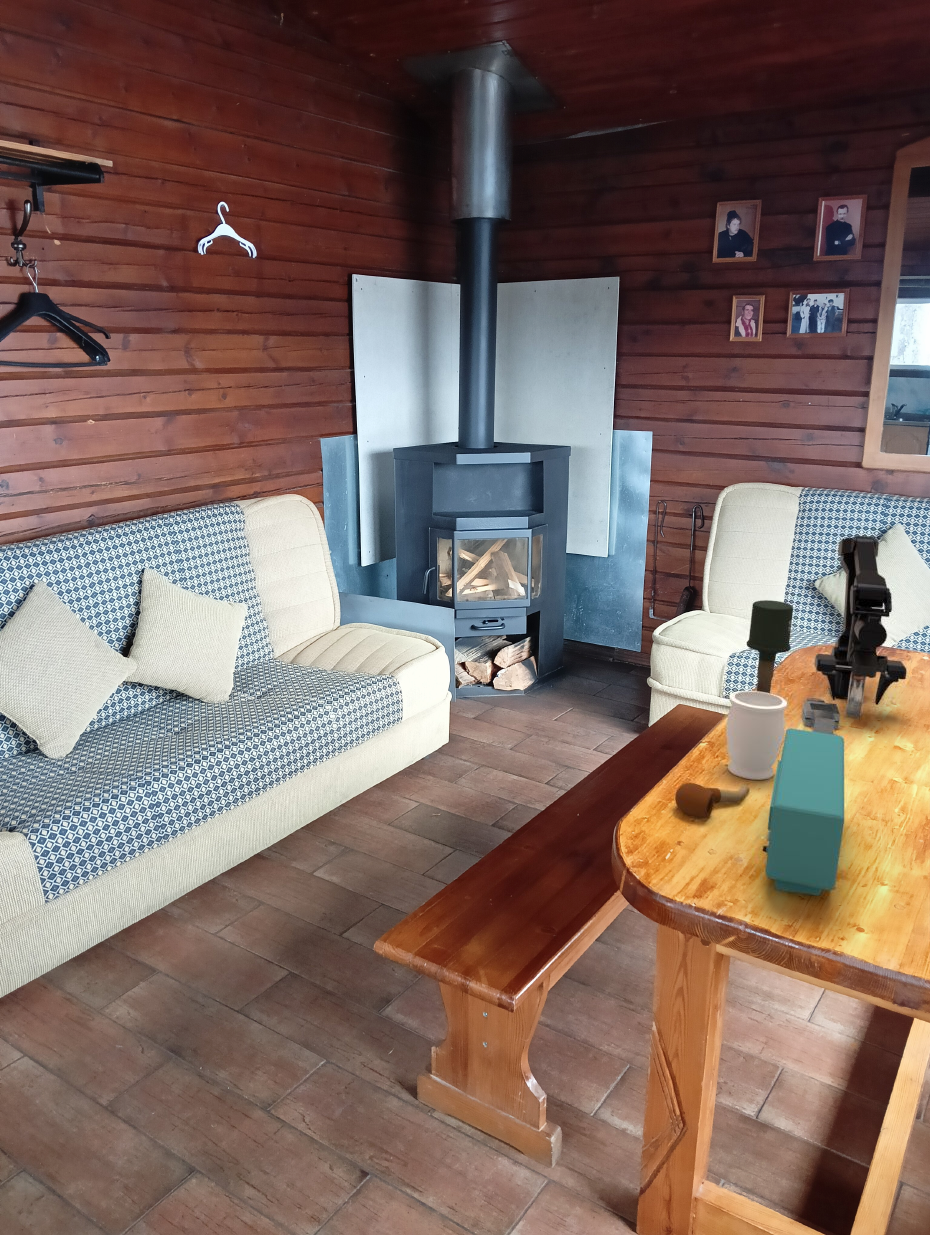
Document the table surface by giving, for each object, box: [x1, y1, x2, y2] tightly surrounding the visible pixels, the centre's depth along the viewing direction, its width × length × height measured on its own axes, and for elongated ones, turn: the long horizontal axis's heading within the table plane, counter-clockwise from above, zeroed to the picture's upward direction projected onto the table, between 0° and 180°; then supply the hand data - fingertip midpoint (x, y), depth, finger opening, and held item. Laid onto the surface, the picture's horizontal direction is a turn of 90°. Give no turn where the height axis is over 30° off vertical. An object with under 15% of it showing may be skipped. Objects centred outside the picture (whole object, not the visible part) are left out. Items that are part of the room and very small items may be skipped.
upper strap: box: [802, 700, 841, 735], centre depth 208 cm, size 11×7×4 cm, turn 165°
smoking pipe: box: [674, 782, 750, 820], centre depth 168 cm, size 7×18×6 cm, turn 134°
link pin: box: [845, 672, 867, 719], centre depth 214 cm, size 3×3×10 cm
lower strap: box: [801, 697, 840, 731], centre depth 214 cm, size 16×7×2 cm, turn 165°
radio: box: [762, 728, 845, 896], centre depth 150 cm, size 34×10×15 cm, turn 159°
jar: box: [725, 690, 788, 781], centre depth 180 cm, size 11×10×15 cm
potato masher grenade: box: [746, 599, 794, 694], centre depth 193 cm, size 8×9×30 cm
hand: (854, 702), depth 214 cm, fingers open, 9 cm apart
